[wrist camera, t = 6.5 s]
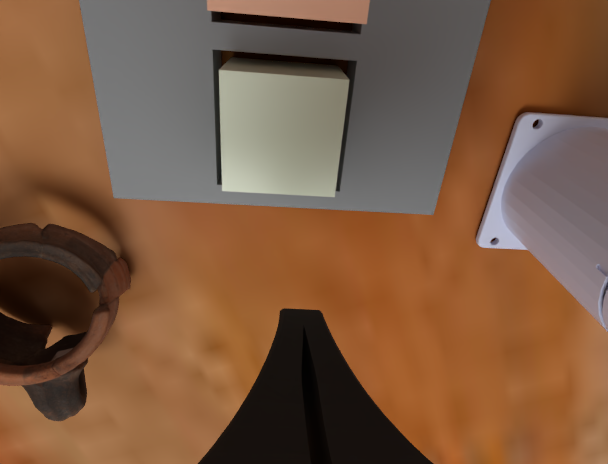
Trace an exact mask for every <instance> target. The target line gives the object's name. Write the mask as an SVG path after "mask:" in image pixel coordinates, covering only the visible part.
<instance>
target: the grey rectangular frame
mask: <svg viewBox="0 0 608 464" xmlns="http://www.w3.org/2000/svg"><path fill="white" fill-rule="evenodd" d="M79 2H80V8H81V13H82V19H83V25H84V31H85V36H86V42H87V48H88V53H89V59H90V65H91V70H92V76H93V82H94V88H95V93H96V99H97V105H98V110H99V116H100V122H101V127H102V133H103V139H104V145H105V150H106V156H107V162H108V167H109V173H110V179H111V184H112V190H113V196H114V198H123V199H143V200H162V201H181V202H200V203H219V204H238V205H257V206H276V207H295V208H314V209H333V210H352V211H372V212H391V213H410V214H429V215H433V214H434V210H435V207H436V203H437V199H438V195H439V192H440V188H441V184H442V180H443V177H444V173H445V169H446V166H447V162H448V158H449V154H450V151H451V147H452V143H453V139H454V136H455V132H456V128H457V125H458V121H459V117H460V113H461V110H462V106H463V102H464V98H465V95H466V91H467V87H468V84H469V80H470V76H471V72H472V69H473V65H474V61H475V57H476V54H477V50H478V46H479V43H480V39H481V35H482V31H483V28H484V24H485V20H486V16H487V13H488V9H489V5H490V2H491V0H370V3H369V11H368V18H367V24H357V23H353V26H352V31H350V30H338V29H326V28H314V27H303V26H291V25H279V24H267V23H255V22H244V21H232V20H221V17H220V12H218V11H207V0H79ZM221 50H225V51H238V52H250V53H263V54H276V55H288V56H301V57H313V58H326V59H339V60H348V67H347V75H346V76H347V77H348V79H349V88H348V96H347V104H346V112H345V120H344V128H343V135H342V143H341V151H340V159H339V167H338V175H337V183H336V191H335V197H321V196H303V195H285V194H266V193H248V192H230V191H222V170H221V133H220V96H219V69H220V68H221V67H222V59H221Z"/></svg>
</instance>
